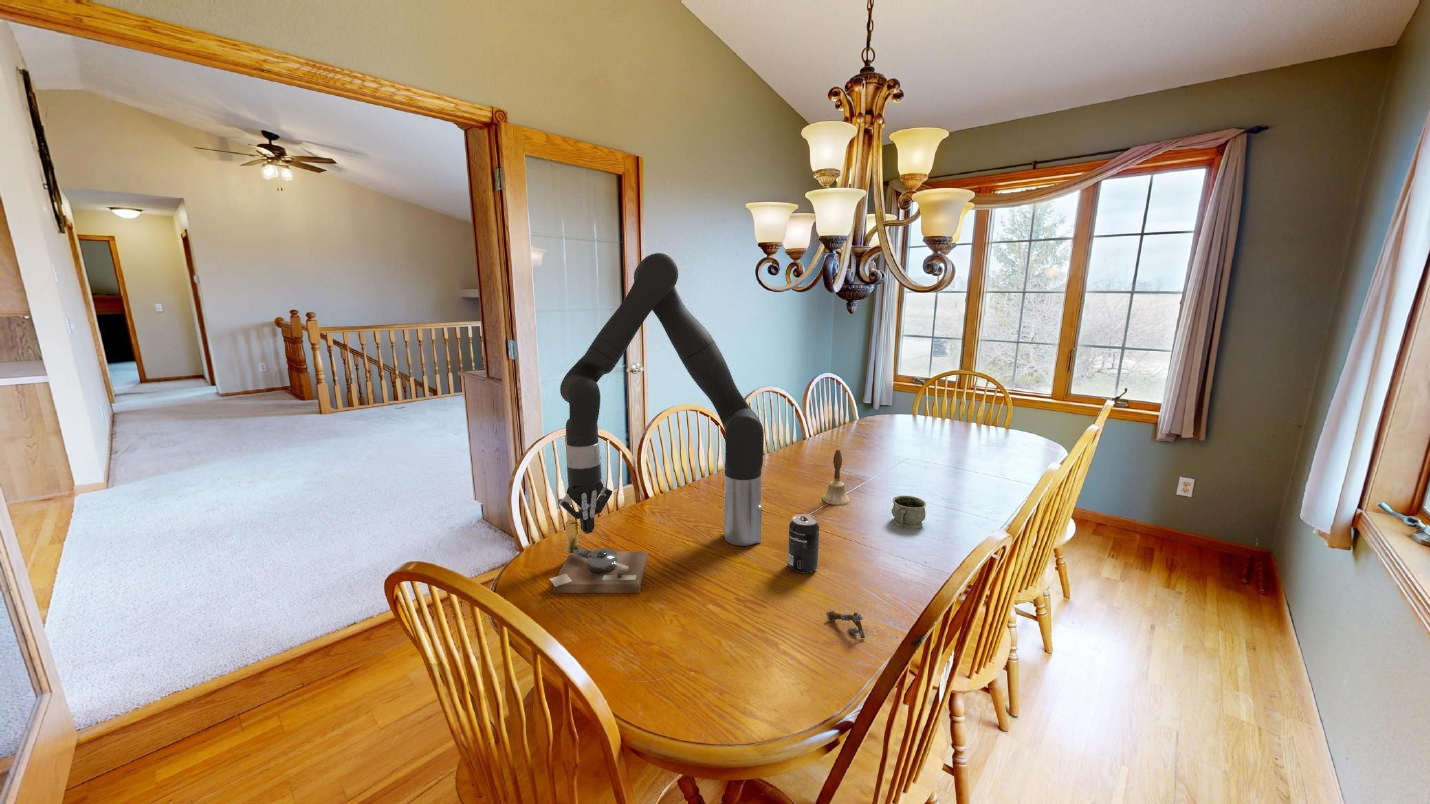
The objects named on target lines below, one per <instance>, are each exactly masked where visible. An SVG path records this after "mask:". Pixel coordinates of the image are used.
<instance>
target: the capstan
mask: <svg viewBox="0 0 1430 804" xmlns="http://www.w3.org/2000/svg"><path fill="white" fill-rule="evenodd" d="M564 525H565V537H566V552H567V553H568V554H570V553H574V554H577V555H579V556H582V557H584V558H587V559H588V569H589V570H590V571H592V572H595V573H605V572H609V571H611V570H613V569H615V568H619V569H621V570H624V571H627V570H629V567H628V566H626V565H623V564H620V563H618V562H617V552H618V551H616V550H614V549H612V548H597V549H594V550H593V551H592V550H590V549H587V548H584V547H581V546H579V531H578V530H579V529H578V528H579V527H578V521H577V519H576V520H575V519H570V520H567V521H565V524H564Z"/></svg>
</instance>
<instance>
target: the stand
mask: <svg viewBox="0 0 1430 804" xmlns="http://www.w3.org/2000/svg"><path fill="white" fill-rule="evenodd" d="M616 552H617V562H618V563H620V564H623V565H626V566H628V567H629V570H627V571H624V570H621V569H619V568H615V569H613V570H611V571H609V572H605V573H595V572H592V571H590V570H589V569H588V559H587V558H584V557H582V556H579V555H577V554H574V553H568V556H567V558H566V560H565V561H564V563H563V565H562V567H561V568H560V570H559V572H558V574H557V576H554V577H551V578H549V580H550V581H551V583H552V589H553V590H552V591H553V594H585V593H586V594H627V593H628V594H630V593H631V594H639V593H640V592H641V587H642V583H643V579H644V575H645V571H646V568H647V563H648V551H616Z"/></svg>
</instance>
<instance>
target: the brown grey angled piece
mask: <svg viewBox="0 0 1430 804" xmlns="http://www.w3.org/2000/svg"><path fill="white" fill-rule="evenodd" d="M826 617H827V620H828V622H829V623H831V622H833V621H835V620H841V621H848V622H849V621H852V622H853V623H854V625H855V627H853V626H851V627H849V628H847V631H848V633H849V634H851V635H852V634H853V636H855V635H856V634H859V636H860V639H865V638H866V635H865V631H864V628H863V626H862V622H861V621H862V620H863V619H864V617H863V616H862V614H861V613H860V614H859V613H858V612H854V613H853V614H851V613H838V612H835V610H834V609H830V610H829V611H827V612H826Z"/></svg>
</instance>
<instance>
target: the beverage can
mask: <svg viewBox="0 0 1430 804" xmlns="http://www.w3.org/2000/svg"><path fill="white" fill-rule="evenodd" d="M791 519H792V520H790V522H789V524H788V542H787V543H788V545H787V565H788V567H789V568H790V569H791V570H793V571H794V572H797V573H799V574H809V573H811V572H814V571H815V570H817V568H818V567H819V552H820V551H819V549H820V533H821V532H820V530H821V529H820V528H821V527H820V524H819V523H818V519H817V517H815V516H814V515H812V514H807V513H806V514H805V513H799V514H798V513H797V514H795V515H793V516H792V517H791Z"/></svg>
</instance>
